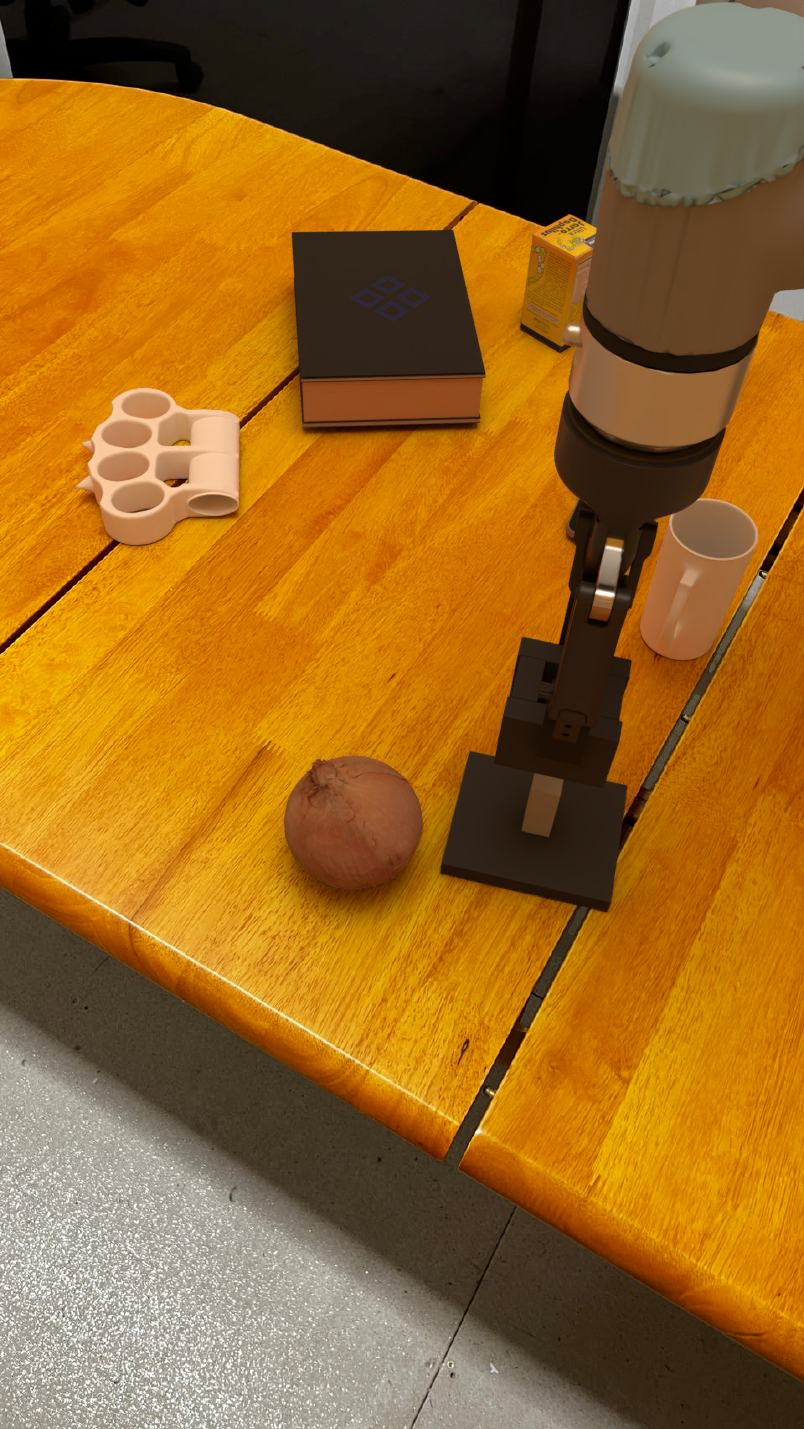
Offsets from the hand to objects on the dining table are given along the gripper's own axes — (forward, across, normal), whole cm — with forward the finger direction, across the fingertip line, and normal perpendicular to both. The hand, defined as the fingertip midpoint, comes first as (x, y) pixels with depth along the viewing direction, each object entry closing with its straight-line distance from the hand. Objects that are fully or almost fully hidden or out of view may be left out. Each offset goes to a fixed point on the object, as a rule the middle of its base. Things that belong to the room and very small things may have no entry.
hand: (566, 709), depth 68 cm
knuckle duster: (+15, -29, -40) cm, 52 cm away
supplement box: (+15, -63, -8) cm, 65 cm away
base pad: (+15, 0, 0) cm, 15 cm away
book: (+15, -53, -25) cm, 61 cm away
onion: (+15, +5, -12) cm, 20 cm away
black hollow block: (+3, 0, 0) cm, 3 cm away
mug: (+15, -21, +8) cm, 27 cm away
